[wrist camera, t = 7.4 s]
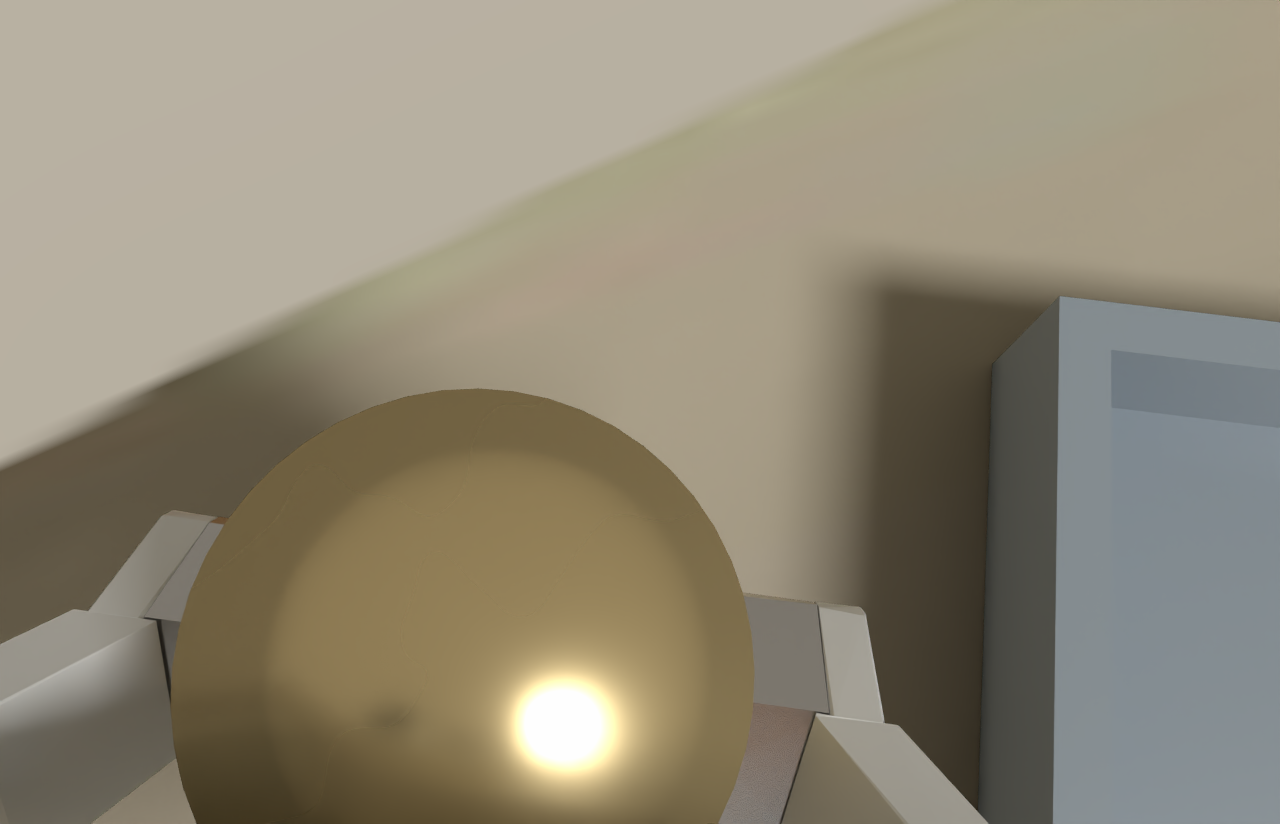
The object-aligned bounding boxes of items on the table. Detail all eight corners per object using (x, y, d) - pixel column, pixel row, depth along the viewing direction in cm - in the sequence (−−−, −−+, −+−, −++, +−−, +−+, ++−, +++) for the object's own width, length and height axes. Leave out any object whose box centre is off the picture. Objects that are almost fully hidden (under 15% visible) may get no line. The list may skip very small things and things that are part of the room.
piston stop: (657, 832, 15) (718, 1029, 7) (361, 790, 15) (105, 943, 7) (695, 535, 16) (783, 430, 8) (417, 496, 16) (243, 352, 8)
